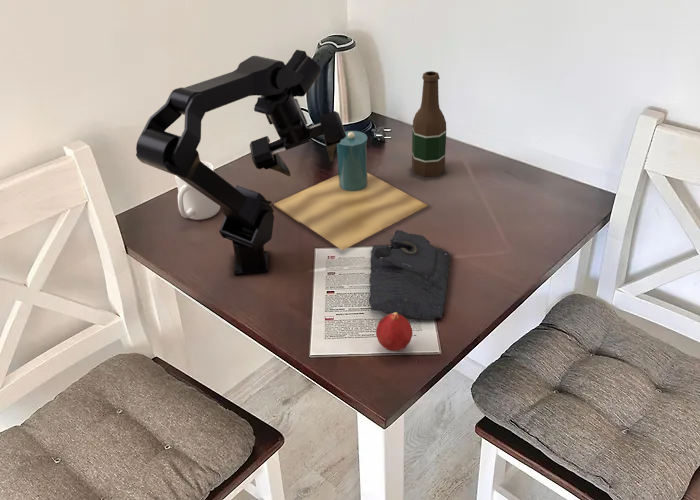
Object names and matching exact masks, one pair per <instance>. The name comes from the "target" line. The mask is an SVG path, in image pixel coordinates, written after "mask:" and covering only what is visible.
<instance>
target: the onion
mask: <svg viewBox="0 0 700 500" xmlns="http://www.w3.org/2000/svg"><path fill="white" fill-rule="evenodd" d="M375 335H376V338H377V342H378V343H379V344H380V345H381V346H382V348H384V349H386V350H387V351H391V352H398V351H401V350H403V349H406V347H407V346H409V344H410V342H411V340H412V337H413V329H412V325H411V323H410V321H409V320H408V319H407V318H406V317H405V315H400V314H397V312H395V313H387V314H386V315H384V316H383V317H382V318H381V319H380V320H379V322H378V323H377V326H376V330H375Z"/></svg>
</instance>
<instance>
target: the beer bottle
mask: <svg viewBox="0 0 700 500" xmlns="http://www.w3.org/2000/svg"><path fill="white" fill-rule="evenodd" d="M421 78H422V80H423V83H422V94H421V103H420V108H419V109H418V110H417V111H416V113H415V114H414V117H413V120H412V128H411V129H412V134H411V135H412V137H411V168H412V171H413V174H414V175H416V176H419V177H422V178H433V177H438V176H440V175H441V174H443V172H445V166H446V149H447V147H446V146H447V122H446V117H445V116H444V113H443V111H442V110H441V107H440V100H439V98H440V97H439V96H440V95H439V80H440V79H441V78H440V75H439V72H437V71H434V70H430V71H429V70H428V71H425V72H424V73H422V77H421Z"/></svg>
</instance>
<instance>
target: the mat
mask: <svg viewBox="0 0 700 500" xmlns="http://www.w3.org/2000/svg"><path fill="white" fill-rule="evenodd" d="M367 178H368V184H367V186H366V187H365V188H364V189H362V190H358V191H347V190H344V189H342V188H341V187H340V186H339V177H338V174H337V175H334V176H332V177H330V178H328V179H325V180H324V181H321V182H319V183H316V184H315V185H312V186H309V187H307V188H305V189H303V190H301V191H299V192H297V193H294V194H292V195H290V196H287V197H285V198H283V199H281V200H279V201H277V202H274V203H273V206H274V207H275V208H277V209H278V210H280V212H283V213H284V214H285V215H287V216H289V217H290V218H292V219H293V220H294V221H296V222H297V223H298V224H302V225H304V226H306V227H307V228H309V229H310V230H312V231H313V232H314V233H316V234H317V235H318V236H321V237H322V238H324V239H325V240H326V241H328V242H329V243H330V244H332V245H333V246H335V247H337V248H338V249H340V250H341V251H344V250H346V249H348V248H350V247H352V246H353V245H356V244H357V243H359V242H361V241H363V240H365V239H367V238H369V237H371V236H372V235H375V234H377V233H379V232H380V231H382V230H385V229H386V228H388V227H391V225H394V224H396V223H398V222H399V221H401V220H403V219H406V218H407V217H409V216H411V215H413V214H416V213H417V212H418V211H420V210H422V209H424V208H426V207H428V204H427V203H425V202H422V201H421V200H419V199H417V198H416V197H413V196H411V195H410V194H408V193H406V192H404V191H402V190H400V189H398V188H397V187H395V186H393V185H391V184H390V183H388V182H386V181H384V180H382V179H380V178H379V177H377V176H375V175H372V174H371V173H370V172H367Z"/></svg>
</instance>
